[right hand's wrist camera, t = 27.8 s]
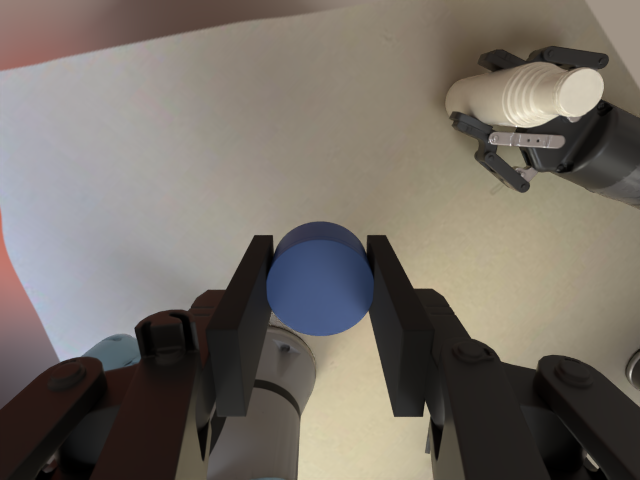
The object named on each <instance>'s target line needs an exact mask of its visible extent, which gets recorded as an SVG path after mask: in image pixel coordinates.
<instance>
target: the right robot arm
mask: <svg viewBox="0 0 640 480" xmlns="http://www.w3.org/2000/svg"><path fill="white" fill-rule="evenodd" d="M366 255H367V258H368V261H369V264H370V267H371V270H372V273H373V277H374V290H373V301H372V304H371V306H370V308H369V314H370V319H371V323H372V327H373V331H374V335H375V339H376V343H377V348H378V352H379V356H380V360H381V364H382V368H383V372H384V377H385V381H386V385H387V389H388V393H389V397H390V402H391V406H392V410H393V414H394V417H423V412H424V405H425V401H426V404H427V407H428V410H429V412H430V415H431V416H430V423H429V430H428V436H427V443H426V450H425V453H428V454H430V451H431V460H432V470H433V479H434V480H640V407H639V406H638V405H637V404H635V403H634V402H633V401H632V400H631V399H630V398H629V397H627V396H626V395H625V394H624V393H623V392H622V391H621V390H620V389H618V388H617V387H616V386H615V385H614V384H613V383H612V382H611V381H609V380H608V379H607V378H606V377H605V376H604V375H603V374H601V373H600V372H599V371H597V370H596V369H594V368H593V367H592V366H590V365H588V364H586V363H583V362H581V361H580V360H577V359H574V358H570V357H566V356H560V355H549V356H544V357H543V358H541V359H540V360H539V361H538V365H537V369H536V370H535V369H530V368H525V367H521V366H516V365H511V364H508V363H504V362H501V361H500V358H499V357H498V355H497V354H496V352H495V351H494V350H493V349H492V348H490V347H489V346H487V345H486V344H484V343H482V342H480V341H477V340H475V339H471V337H470V336H469V334H468V333H467V331H466V330H465V328H464V327H463V325H462V324H461V322H460V321H459V319H458V318H457V316H456V315H455V314H454V312H453V310H452V309H451V307H449V304H448V302H447V301H446V299H445V298H444V296H442V295H441V294H439V293H438V292H436V291H435V290H433V289H414V288H413V287H412V285H411V283H410V281H409V279H408V277H407V275H406V273H405V271H404V269H403V267H402V266H401V264H400V262H399V260H398V258H397V256H396V254H395V252H394V250H393V248H392V246H391V244H390V243H389V241H388V239H387V237H386V235H367V252H366ZM273 256H274V248H273V235H254V237H253V239H252V241H251V243H250V245H249V247H248V249H247V251H246V253H245V254H244V256H243V258H242V260H241V262H240V264H239V266H238V268H237V270H236V272H235V274H234V276H233V277H232V279H231V281H230V283H229V285H228V287H227V289H226V290H207V291H206V292H204V293H203V294H201V295H200V296H198V297H197V298H196V300H195V301H194V303H193V304H192V306H191V309H189V310H188V311H185V310H166V311H161V312H158V313H155V314H153V315H150V316H148V317H146V318H145V319H143V320H142V321H140V322H139V323H138V324H137V326H136V327H135V328H134V329H135V333H136V338H137V339H136V338H134V337H132V336H130V335H127V334H116V335H112V336H110V337H107V338H105V339H104V340H102V341H101V342H99V343H98V344H96V345H95V346H94V347H92V348H91V349H90V350H89V351H87V352H86V353H85V354H84V355H82V356H81V357H76V358H72V359H68V360H65V361H62V362H60V363H58V364H56V365H54V366H52V367H50V368H49V369H47V370H46V371H44V372H43V373H42V374H40V375H39V376H38V377H37V378H35V379H34V380H33V381H32V382H31V383H30V384H29V385H28V386H27V387H25V388H24V389H23V390H22V391H21V392H20V393H19V394H18V395H16V396H15V397H14V398H13V399H12V400H11V401H10V402H9V403H8V404H6V405H5V406H4V407H3V408H2V409H1V410H0V480H297V476H298V456H299V436H300V419H301V415H302V412H303V410H304V408H305V406H306V404H307V402H308V399H309V397H310V395H311V393H312V391H313V388H314V383H315V378H316V366H315V360H314V357H313V354H312V352H311V351H310V349H309V348H308V346H307V345H306V344H305V343H304V342H303V341H302V340H301V339H300V338H299V337H297V336H296V335H294V334H292V333H290V332H288V331H286V330H283V329H281V328H277V327H272V326H268V324H269V319H270V315H271V311H272V309H271V307H270V305H269V302H268V300H267V286H266V280H267V275H268V272H269V269H270V266H271V262H272V259H273ZM587 453H588V454H589V455H590V456H591V458H592V459H593V460H594V461H595V462H596V464H597V465H598V466H599V469H597V468H596V467H595V466H594V465H593V464H592V463H591V462H590V461H589V460H588V458H587V457H586V456H587Z"/></svg>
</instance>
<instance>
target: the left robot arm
mask: <svg viewBox="0 0 640 480" xmlns="http://www.w3.org/2000/svg"><path fill="white" fill-rule="evenodd" d="M608 61H609V58H608V56H607V55H606V54H602V53H595V52H589V51H582V50H576V49H569V48H563V47H556V46H550V47H546V48H543V49H539V50H535V51H533V52H532V53H531V54H530V55H529V58H528V59H527V60H526V61H524V60H522V59H520V58H518V57H516V56H514V55H512V54H510V53H508V52H506V51H504V50H494V51H491V52H489V53H485V54H482V55H481V56H480V58H479V60H478V62H477V63H478V64H479V65H481V66H483V67H485V68H487V69H489V70H491V71H498V70H502V69H507V68H511V67H516V66H520V65H525V64H529V63H534V62H546V63H551V64H554V65H556V66H558V67H560V68H561V69H566V70H568V71H572V70H574V69H577V68H582V67H585V68H590V69H593V70H595V71H597V70H598V69H602V68H604V67H605V66H606V65H607V64H608ZM449 119H451V120H453V121H454V122H453V124H452V126H453V127H454V129H456V130H458V131H460V132H462V133H464V134H467V135H469V136H471V137H473V138H476V139H477V140H478V142H479V147H478V151H476V153H475V159H476V160H477V161H478V162H479V163H480V164H481V165H483V166H484V167H485V168H486V169H487V170H488V171H490V172H491V173H492V174H493V175H494V176H495V177H497V178H498V179H499V180H500V181H501V182H502V183H504V184H505V185H506V186H507V187H509V188H511V189H513V190H516V191H519V192H521V193H524V192H526V191H528V189H529V187H530V184H529V181H530V180H531V179H532V178H533V177H534V176H535V175H536V174H537V173H538V172H551V173H553V174H555V175H558V176H560V177H562V178H564V179H567V180H569V181H571V182H573V183H575V184H578V185H580V186H582V187H584V188H585V189H587V190H589V191H590V192H593V193H598V194H600V195H602V196H605V197H607V198H610V199H614V200H618V201H621V202H624V203H626V204H628V205H631V206H633V207H635V208H637V209H639V210H640V118H638V117H636V116H634V115H632V114H630V113H628V112H626V111H624V110H622V109H620V108H618V107H616V106H614V105H612V104H610V103H608V102H606V101H604V100H601V99H600V100H599V102H598V103H597V104H596V106H595V107H594V108H593V109H591V110H590V111H588V112H587V113H586V114H585V115H582V116H577V117H567V116H562V115H559V116H557V117H555V118H553V119H551V120H550V121H548V122H546V123H544V124H542V125H539V126H535V127H530V128H523V127H517V129H516V130H515V132H508V131H495V130H492V128H493V127H492V126H490V125H488V124H485V123H483V122H481V121H479V120H477V119H475V118H473V117H470V116H468V115H466V114H464V113H461V112H458V111H452V113H451V115H450V117H449ZM497 145H508V146H519V148H520V150H521V153H522V155H523V158H524V160H525V162H526V165H527V166H526V167H524V168H521V167H518V166H514V167H511V166H509V165H508V164H507V163H506V162H505V161H504V160H503V159H501V158H500V157H499V156H498V155H497V154H496V150H497ZM626 375H627V379H628V381H629V382H630V384H631V385H633V386H634V387H635V388H636V389H637V390H639V391H640V351H639V352H637V353H636V354H635V355H634V357H633V358H632V359H631V361H630V362H629V364H628V367H627V371H626Z"/></svg>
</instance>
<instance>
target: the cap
mask: <svg viewBox="0 0 640 480" xmlns="http://www.w3.org/2000/svg"><path fill="white" fill-rule="evenodd" d="M266 286H267V300H268V302H269V305H270V307H271V309H272V311H273V312H274V314H275V315H276V316H277V317H278V318H279V320H280V321H281V322H283V323H284V324H285V325H286V326H288V327H290V328H291V329H293V330H295V331H297V332H300V333H303V334H307V335H314V336H327V335H333V334H337V333H340V332H343V331H345V330H347V329H349V328H351V327H352V326H354V325H355V324H357V323H358V322H359V321H360V320H361V319H362V318H363V317H364V316H365V314H366V313H367V312H368V310H369V308H370V306H371V304H372V301H373V290H374V277H373V273H372V270H371V267H370V264H369V261H368V258H367V255H366V252H365V249H364V247H363V245H362V243H361V242H360V241H359V239H358V238H357V237H356V236H355V235H354V234H353V233H352V232H350V231H349V230H348V229H346V228H344V227H342V226H340V225H337V224H334V223H330V222H310V223H306V224H303V225H301V226H298V227H296V228H295V229H293V230H291V231H290V232H289V233H287V234H286V235H285V236H284V237H283V239H282V240H281V241H280V243H279V244H278V246H277V248H276V250H275V253H274V256H273V259H272V262H271V266H270V269H269V272H268V275H267V280H266Z"/></svg>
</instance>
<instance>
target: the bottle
mask: <svg viewBox="0 0 640 480" xmlns="http://www.w3.org/2000/svg"><path fill="white" fill-rule="evenodd" d="M603 89H604V83H603V79H602V77H601V75H600V74H599V73H598V72H597V71H595V70H593V69H590V68H585V67H582V68H577V69H574V70H572V71H565V70H563V69H561V68H560V67H558V66H556V65H554V64H551V63H546V62H534V63H529V64H525V65H520V66H516V67H511V68H507V69H502V70H498V71H493V72H489V73H485V74H480V75H476V76H471V77H467V78H463V79H460V80H458V81H457V82H456V83H454V84H453V85H452V86H451V88H450V89H449V91H448V93H447V96H446V100H445V107H446V111H447V113H448V115H449V116H450V115H451V113H452V111H458V112H461V113H464V114H466V115H468V116H470V117H473V118H475V119H477V120H479V121H481V122H483V123H485V124H488V125H499V126H511V127H523V128H530V127H535V126H539V125H542V124H544V123H546V122H548V121H550V120H551V119H553V118H555V117H557V116H559V115H562V116H567V117H577V116H582V115H585V114H586V113H587V112H588V111H590V110H591V109H593V108H594V107H595V106H596V104H597V103H598V102H599V100H600V99H601V96H602V94H603Z"/></svg>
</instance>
